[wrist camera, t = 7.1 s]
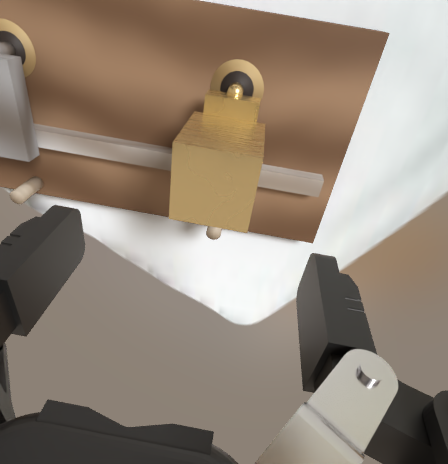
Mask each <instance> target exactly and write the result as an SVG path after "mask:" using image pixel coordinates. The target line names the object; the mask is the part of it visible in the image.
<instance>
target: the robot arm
mask: <svg viewBox="0 0 448 464" xmlns="http://www.w3.org/2000/svg"><path fill="white" fill-rule="evenodd" d="M84 250H85V242H84V235H83V228H82V220H81V214H80V211H79V210H78V209H74V208H69V207H63V206H58V205H54V206H52V207H51V208H50V209H49V210H48V211H47V212H46V213H45V214H44V215H42V217H34V218H32V219H30V220H28V221H26V222H24V223H22V224H21V225H19V226H18V227H17V228H16V229H15V230H14V231H13V232H12V233H11V234H10V236H7V237H6V238H5V239H4V240H3V241H2V242H1V244H0V464H238V463H237V462H236V461H235V460H234V459H233V458H232V457H231V456H230V455H228V454H227V453H226V452H224V451H223V450H222V449H220V448H218V447H217V446H215V445H213V444H212V440H213V433H214V432H213V431H208V430H202V429H197V428H192V427H187V426H182V425H177V424H164V425H151V426H140V427H125V426H122V425H120V424H118V423H117V422H115V421H113V420H111V419H109V418H107V417H105V416H103V415H102V414H100V413H98V412H96V411H94V410H92V409H90V408H89V407H84V406H78V405H74V404H68V403H63V402H58V401H52V400H47V402H46V404H45V405H44V407H43V409H42V411H41V412H40V413H39V412H38V413H33V414H28V415H24V416H21V417H17V418H16V417H15V413H14V409H13V405H12V400H11V392H10V380H9V371H8V360H7V348H6V344H5V341H6V340H7V338H8V337H9V336H10V334H16V335H21V336H27V335H28V334H29V332H30V331H31V329H32V328H33V327H34V325H35V324H36V322H37V321H38V320H39V318H40V317H41V315H42V314H43V313H44V311H45V310H46V309H47V307H48V306H49V304H50V303H51V301H52V300H53V299H54V298H55V296H56V295H57V293H58V292H59V291H60V289H61V288H62V286H63V285H64V284H65V282H66V281H67V280H68V278H69V277H70V275H71V274H72V272H73V271H74V270H75V268H76V267H77V266H78V264H79V263H80V261H81V260H82V257H83V255H84ZM296 302H297V316H298V330H299V343H300V357H301V369H302V384H303V391H308V392H313V393H314V394H313V396H312V397H311V398H310V399H309V401H308V402H307V403H304V404H302V406H301V407H300V408H299V409H298V410H297V412H296V413H295V414H294V415H293V416H292V418H291V419H290V420H289V421H288V423H287V424H286V425H285V426H284V428H283V429H282V430H281V431H280V433H279V434H278V435H277V436H276V438H275V439H274V440H273V441H272V443H271V444H270V445H269V446H268V447H267V449H266V450H265V451H264V452H263V454H262V455H261V456H260V457H259V459H258V460H257V461H256V462H255V464H362V462H363V460H364V455H363V453H364V454H366V455H368V456H370V457H371V458H373V459H375V460H377V461H379V462H381V463H382V464H448V391H441V392H440V393H438V394H437V395H436V396H435V397H434V398H433V397H431V396H429V395H426V394H424V393H422V392H420V391H418V390H416V389H414V388H412V387H410V386H408V385H406V384H404V383H402V382H401V381H399V380H398V379H397V377H396V375H395V373H394V371H393V369H392V368H391V367H390V366H389V365H388V363H387V362H386V361H385V360H384V359H382V358H381V357H380V356H378V355H377V353H376V349H375V346H374V342H373V339H372V335H371V332H370V328H369V325H368V321H367V318H366V314H365V313H364V308H363V304H362V302H361V297H360V294H359V290H358V287H357V286H356V284H355V283H354V282H353V280H352V279H351V278H350V276H349V275H346V274H342V273H339V269H338V265H337V261H336V258H335V257H332V256H327V255H321V254H316V253H312V254H311V255H310V257H309V260H308V262H307V265H306V268H305V270H304V273H303V276H302V278H301V281H300V284H299V287H298V291H297V301H296Z"/></svg>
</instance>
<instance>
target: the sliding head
mask: <svg viewBox="0 0 448 464" xmlns="http://www.w3.org/2000/svg"><path fill="white" fill-rule="evenodd" d="M243 92H244V89H243V86H242V85H241V84H240V83H238V82H234V83H232V84H231V85H230V86H229V88H228V90H227V92H221V91H215V90H208V91H207V92H206V94H205V101H204V111H203V113H201V112H195V111H194V113H193V114H192V116H191V117H190V118H189V120H188V121H187V123H186V124H185V125H184V127H183V128H182V130H181V131H180V132H179V134H178V135H177V137H176V138H175V140H174V141H173V144H172V164H171V185H170V205H169V219H173V220H178V221H184V222H189V223H195V224H200V225H206V226H211V227H217V228H222V229H228V230H233V231H239V232H244V233H247V232H248V227H249V223H250V218H251V213H252V209H253V204H254V200H255V195H256V190H257V186H258V181H259V177H260V172H261V168H262V163H263V158H264V141H265V124H264V123H258V122H257V117H258V112H259V107H260V100H261V98H255V97H250V96H244V95H243Z"/></svg>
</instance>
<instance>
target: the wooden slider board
mask: <svg viewBox="0 0 448 464" xmlns="http://www.w3.org/2000/svg"><path fill="white" fill-rule="evenodd" d="M388 36H389V33H386V32H383V31H377V30H371V29H365V28H359V27H353V26H347V25H341V24H336V23H330V22H324V21H318V20H312V19H306V18H300V17H294V16H288V15H282V14H276V13H270V12H264V11H258V10H253V9H247V8H241V7H235V6H229V5H223V4H217V3H211V2H205V1H199V0H0V187H6V188H11V189H15V190H13V191H12V192H11V193H10V198H11V200H12V201H13V202H15V203H17V204H22V203H23V202H25V201H26V200H27V199H28V198H30V197H31V196H32V195H33V194H35V193H39V194H44V195H50V196H56V197H61V198H67V199H72V200H78V201H83V202H89V203H94V204H100V205H105V206H111V207H116V208H122V209H127V210H133V211H138V212H144V213H149V214H155V215H160V216H166V217H169V205H170V185H171V164H172V144H173V141H174V140H175V138H176V137H177V135H178V134H179V132H180V131H181V130H182V128H183V127H184V125H185V124H186V123H187V121H188V120H189V118H190V117H191V116H192V114H193V113H194V111H195V112H201V113H203V111H204V101H205V94H206V92H207V91H208V90H215V91H221V92H227V90H228V88H229V86H230V85H231V84H232V83H234V82H238V83H240V84H241V85H242V86H243V89H244V92H243V95H244V96H250V97H255V98H261V100H260V107H259V112H258V117H257V122H258V123H264V124H265V141H264V158H263V163H262V168H261V172H260V177H259V181H258V186H257V190H256V195H255V200H254V204H253V209H252V213H251V218H250V223H249V227H248V231H249V232H254V233H260V234H265V235H271V236H276V237H282V238H287V239H293V240H298V241H304V242H309V243H313V241H314V238H315V236H316V233H317V230H318V228H319V225H320V222H321V219H322V217H323V214H324V211H325V208H326V206H327V203H328V200H329V197H330V195H331V192H332V189H333V186H334V184H335V181H336V178H337V176H338V173H339V170H340V167H341V165H342V162H343V159H344V156H345V154H346V151H347V148H348V145H349V143H350V140H351V137H352V134H353V132H354V129H355V126H356V124H357V121H358V118H359V115H360V113H361V110H362V107H363V104H364V102H365V99H366V96H367V93H368V91H369V88H370V85H371V82H372V80H373V77H374V74H375V71H376V69H377V66H378V63H379V61H380V58H381V55H382V52H383V50H384V47H385V44H386V41H387V39H388ZM221 230H222V228H217V227H211V226H208V228H207V231H206V235H207V236H208V237H209V238H210V239H214V240H215V239H218V238H219V237H220V235H221Z"/></svg>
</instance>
